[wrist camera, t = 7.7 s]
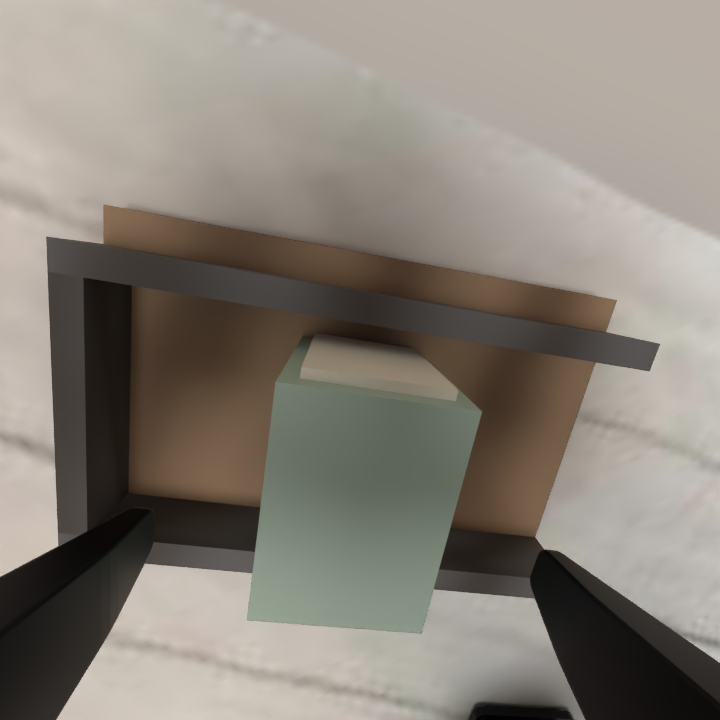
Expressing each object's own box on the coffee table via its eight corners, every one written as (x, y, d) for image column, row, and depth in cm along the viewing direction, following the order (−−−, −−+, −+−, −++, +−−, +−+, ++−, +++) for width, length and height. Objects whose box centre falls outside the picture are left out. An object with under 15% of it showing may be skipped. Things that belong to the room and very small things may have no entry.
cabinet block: (424, 348, 14) (485, 400, 8) (390, 500, 16) (421, 633, 10) (303, 328, 14) (276, 369, 8) (281, 488, 15) (246, 620, 9)
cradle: (595, 298, 15) (674, 305, 12) (510, 557, 18) (551, 625, 15) (124, 210, 13) (44, 187, 10) (120, 517, 16) (60, 585, 13)
